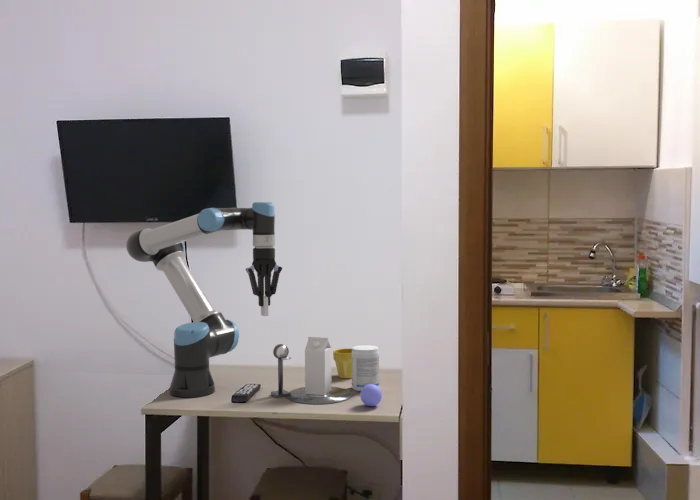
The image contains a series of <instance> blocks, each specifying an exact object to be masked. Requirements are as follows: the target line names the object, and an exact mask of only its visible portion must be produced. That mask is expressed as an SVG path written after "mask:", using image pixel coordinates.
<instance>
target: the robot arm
mask: <svg viewBox="0 0 700 500" xmlns="http://www.w3.org/2000/svg"><path fill="white" fill-rule="evenodd" d="M275 217H276V212H275V204H274V203H273V202H272V201H271V202H270V201H264V202H263V201H262V202H261V201H260V202H259V201H257V202H256V201H255V202H253V203H252V206H251V207H208V208H204V209H202V210H200V212H199V213H196V214H194V215H191V216H188V217H185V218H181V219H180V220H176V221H174V222H170V223H167V224H164V225H162V226H158V227H155V228H153V229H152V228H149V227H148V228H143V229H141V230H136V231H134V232H132V233H131V234H130V235H129V237H128V238H127V240H126V244H125V245H126V251H127V253H128V255H129V256H130V258H132V259H133V260H135V261H138V262H142V263H147V262H152V264H153V265H154V267H155V268H156V270H158V271H161V272H163V273H164V275H165V276H166V279H167V280H168V281H169V284H170V285H171V286H172V289H173V290H174V292H175V294H176V295H177V297H178V298H179V300H180V302H181V303H182V304H183V307H184V308H185V310H186V312H187V313H188V316H189V317H190V318H191V320H192V321H193V322H188V323H187V322H186V323H183V324H181V325H179V326H177V327H176V328H175V330H174V336H173V346H174V347H173V351H174V373H173V376H172V378H171V383H170V386H169V393H170V395H171V396H174V397H177V398H178V397H179V398H196V397H198V398H199V397H204V396H208V395H211V394H214V392H215V391H216V389H215V388H216V386H215V385H216V384H215V382H214V379H213V376H212V373H211V371H210V358H213V357H216V356H220V355H226V354H227V353H229V352H232V351H233V350H234V349H236V347H237V346H238V343H239V338H240V331H239V327H238V325H237V324H236V323H235V322H234V321H232V320H231V319H230V320H229V319H226V318H225V316H224V315H223V313H222V312H221V311H217V310H215V309H214V307H213V305H212V303H211V302H210V300H209V299H208V297H207V295H206V294H205V292H204V291H203V289H202V286H200V284H199V282H198V281H197V279H196V278H195V276H194V274H193V273H192V270H191V269H190V267H189V266H188V264H187V263H186V261H185V260H184V259H185V256H186V253H185V248H186V247H185V246H184V245H185V242H187V241H190V240H194V239H197V238H200V237H203V236H206V235H208V234H212V233H215V232H220V231H235V230H236V231H237V230H251V231H252V246H253V248H252V263H251V266H249V267H246V268H245V271H246V273H247V275H248V278H249V283H250V286H251V290H252V294H253V296H257V297H258V306H259V307H260V315H261V316H263V317H268V316H269V306H271V298H272V297H273V295H276V293H277V288H278V283H279V279H280V273H281V271H282V270H283V267H282V266H280V265H277V262H276V249H275V246H276V236H275V235H276V234H275V224H276V222H275V221H276V219H275ZM255 272H256V274H255ZM272 272H273V273H272ZM256 276H257V278H256Z"/></svg>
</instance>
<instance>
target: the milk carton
mask: <svg viewBox="0 0 700 500" xmlns="http://www.w3.org/2000/svg"><path fill="white" fill-rule="evenodd" d="M304 348H305V349H304V387H305V394H315V395H326V394H327V393H328V392H330V391H331V386H332V346H331V345H330V342H329V338H328V337H321V336H308V339H307V342H306V345H305V347H304Z"/></svg>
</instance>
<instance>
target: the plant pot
mask: <svg viewBox="0 0 700 500" xmlns="http://www.w3.org/2000/svg"><path fill="white" fill-rule="evenodd" d="M332 353H333V355H332V356H333V361H334V362H335V366H336V371H337V375H338V378H341V379H352V348H346V347H345V348H337V349H334V350H333V352H332Z"/></svg>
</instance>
